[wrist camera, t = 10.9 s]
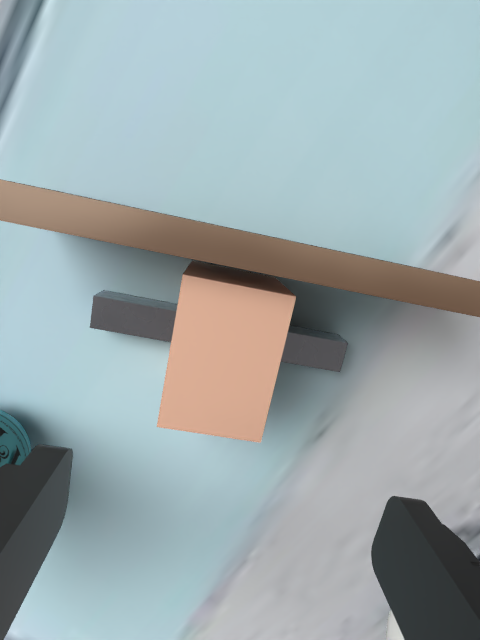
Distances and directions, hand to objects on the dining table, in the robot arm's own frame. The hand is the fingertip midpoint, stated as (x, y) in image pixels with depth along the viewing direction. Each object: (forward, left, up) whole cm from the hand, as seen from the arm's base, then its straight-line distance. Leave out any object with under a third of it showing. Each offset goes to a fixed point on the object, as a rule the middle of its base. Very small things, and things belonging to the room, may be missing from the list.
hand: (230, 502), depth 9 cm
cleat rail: (0, 0, -17) cm, 17 cm away
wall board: (-6, 0, -17) cm, 18 cm away
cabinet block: (0, 0, -17) cm, 17 cm away
